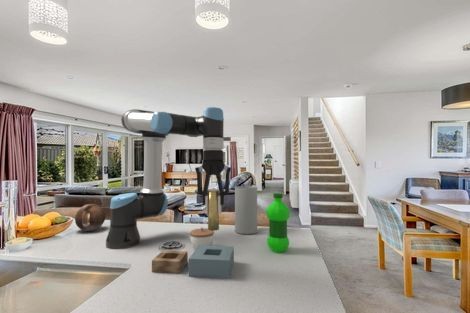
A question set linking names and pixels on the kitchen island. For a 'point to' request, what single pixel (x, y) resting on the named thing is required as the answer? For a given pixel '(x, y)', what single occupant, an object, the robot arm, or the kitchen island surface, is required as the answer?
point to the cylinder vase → (246, 209)
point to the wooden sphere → (90, 217)
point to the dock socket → (211, 261)
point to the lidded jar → (201, 237)
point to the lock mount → (170, 261)
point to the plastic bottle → (278, 224)
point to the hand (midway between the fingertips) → (213, 213)
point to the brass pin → (213, 210)
